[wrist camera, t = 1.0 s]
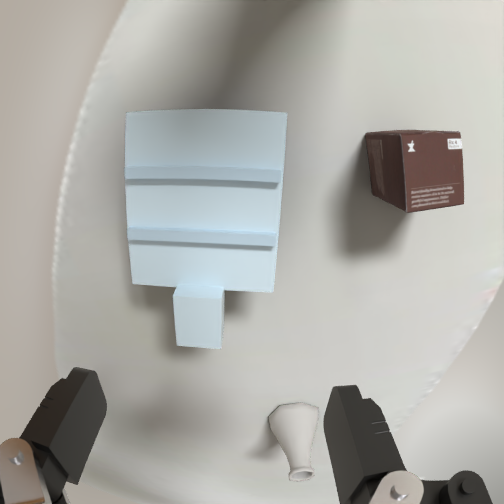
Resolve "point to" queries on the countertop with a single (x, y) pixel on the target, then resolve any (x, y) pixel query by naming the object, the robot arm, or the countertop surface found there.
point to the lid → (204, 208)
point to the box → (416, 168)
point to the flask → (296, 436)
